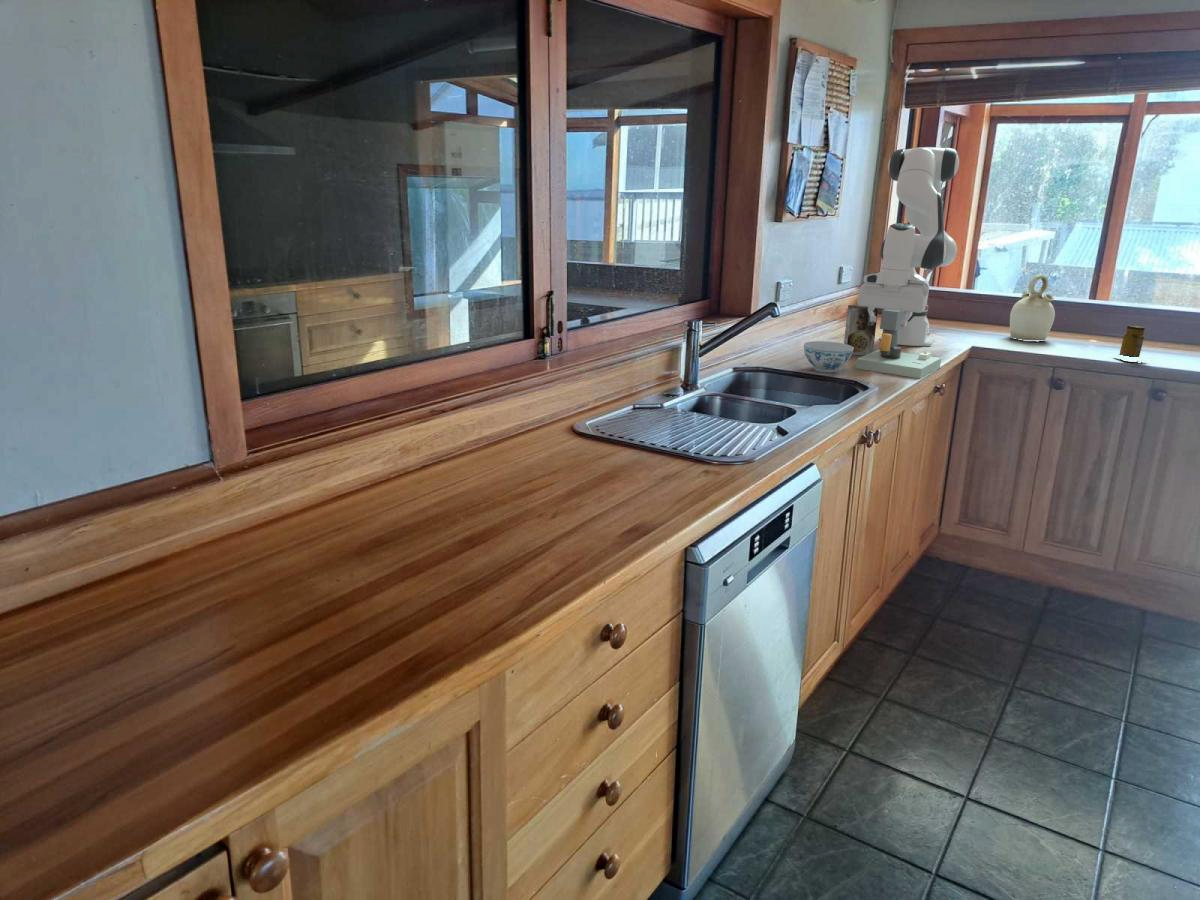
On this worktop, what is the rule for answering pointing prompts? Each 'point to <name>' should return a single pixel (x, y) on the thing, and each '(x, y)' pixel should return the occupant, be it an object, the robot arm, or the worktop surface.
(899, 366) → the green base post mechanism
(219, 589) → the worktop surface
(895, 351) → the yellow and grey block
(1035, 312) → the jug
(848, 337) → the coffee box
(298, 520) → the worktop surface
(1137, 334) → the condiment
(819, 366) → the chinaware
